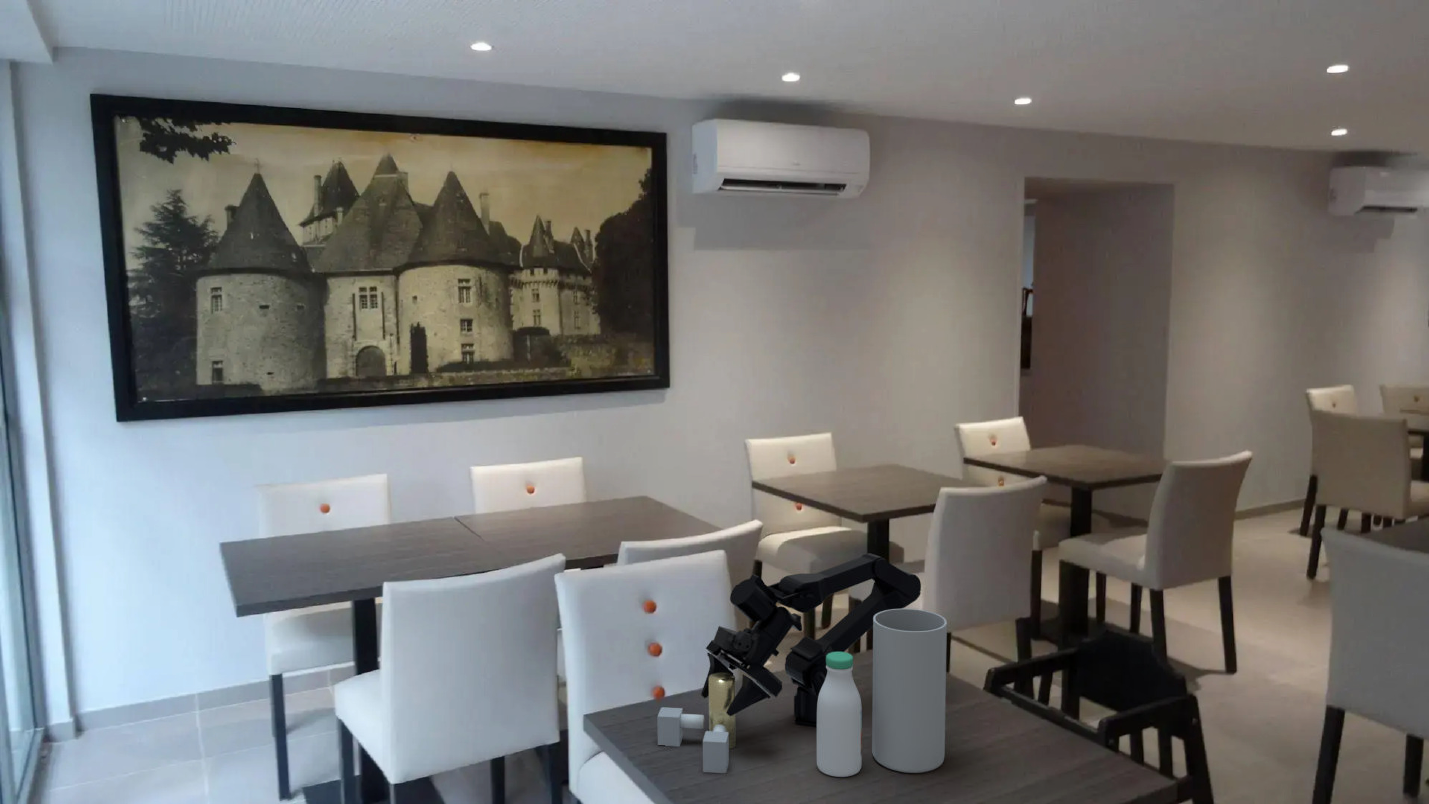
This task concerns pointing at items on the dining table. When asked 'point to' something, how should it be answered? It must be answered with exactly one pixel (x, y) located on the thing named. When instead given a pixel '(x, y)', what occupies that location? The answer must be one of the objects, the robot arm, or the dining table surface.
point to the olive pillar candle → (722, 703)
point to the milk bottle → (839, 719)
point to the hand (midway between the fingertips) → (715, 705)
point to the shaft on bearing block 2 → (716, 750)
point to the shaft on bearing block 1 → (675, 725)
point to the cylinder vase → (909, 689)
